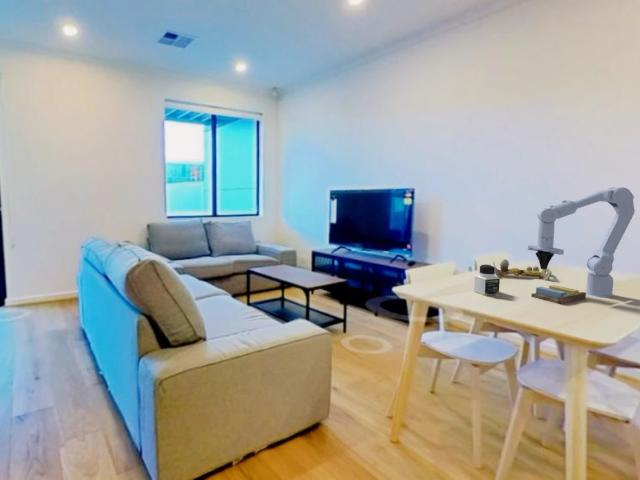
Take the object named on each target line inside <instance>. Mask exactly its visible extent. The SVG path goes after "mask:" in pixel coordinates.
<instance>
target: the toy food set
mask: <svg viewBox="0 0 640 480" xmlns="http://www.w3.org/2000/svg"><path fill="white" fill-rule="evenodd" d="M492 265H493V266H495V276H496V277H498V278H500V279H509V280H510V279H511V280H522V281H523V280H525V281H526V280H527V281H532V280H542V281H548V280H549V279H550V278H551V276H552V270H551V269H550V268H549V266H547V269H545V270H543V269H541V271H540V268H539V266H537V265H535V266H533V267H532V266H527V267H526V269H519V268H517V267H512V268H509V266H510V263H509V261H508V259H506V258H505V259H502V260H501V262H500V263H499V266H500V269H498V268H497V266H496V265H495V261H492Z"/></svg>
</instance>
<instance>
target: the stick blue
mask: <svg viewBox="0 0 640 480" xmlns="http://www.w3.org/2000/svg"><path fill="white" fill-rule="evenodd" d="M535 293H536V294H540V295H544V296H548V297H552V298H556V299H558V297H562V296H563V295H566V292H562V291H558V290H554V289H549V287H545V286H538V287H536V288H535Z"/></svg>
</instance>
